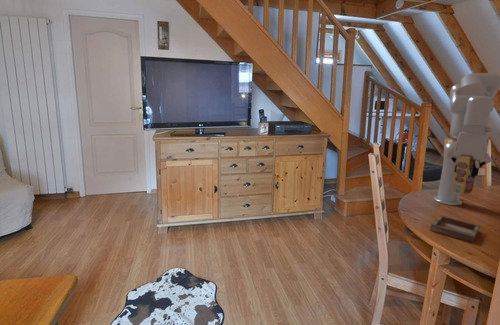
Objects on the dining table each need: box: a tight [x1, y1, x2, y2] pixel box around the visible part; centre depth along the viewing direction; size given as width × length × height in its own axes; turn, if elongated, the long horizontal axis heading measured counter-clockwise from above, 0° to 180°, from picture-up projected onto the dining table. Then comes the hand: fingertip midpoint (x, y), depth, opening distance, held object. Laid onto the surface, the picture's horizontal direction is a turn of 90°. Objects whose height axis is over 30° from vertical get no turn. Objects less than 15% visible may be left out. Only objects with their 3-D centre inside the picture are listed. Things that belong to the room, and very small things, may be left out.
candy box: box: [452, 156, 476, 197], centre depth 122 cm, size 9×4×15 cm, turn 125°
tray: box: [430, 215, 481, 244], centre depth 127 cm, size 14×14×2 cm
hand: (465, 175), depth 122 cm, fingers closed on candy box, 4 cm apart
